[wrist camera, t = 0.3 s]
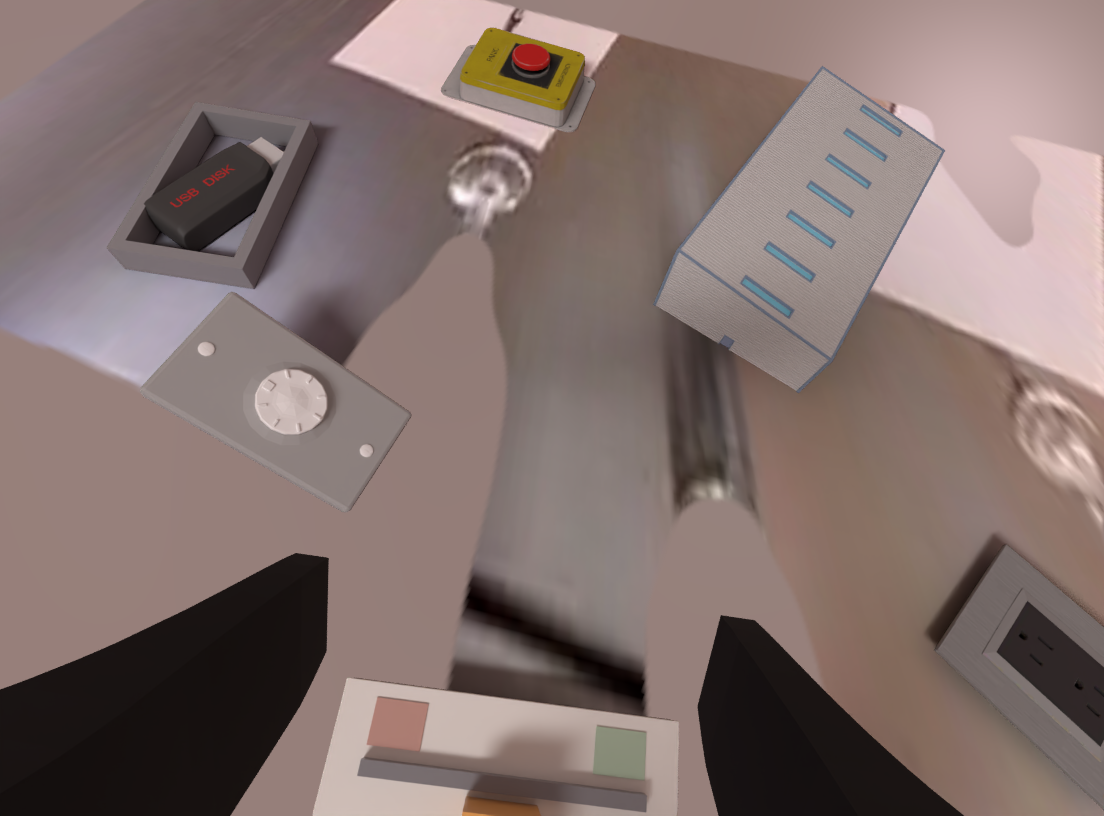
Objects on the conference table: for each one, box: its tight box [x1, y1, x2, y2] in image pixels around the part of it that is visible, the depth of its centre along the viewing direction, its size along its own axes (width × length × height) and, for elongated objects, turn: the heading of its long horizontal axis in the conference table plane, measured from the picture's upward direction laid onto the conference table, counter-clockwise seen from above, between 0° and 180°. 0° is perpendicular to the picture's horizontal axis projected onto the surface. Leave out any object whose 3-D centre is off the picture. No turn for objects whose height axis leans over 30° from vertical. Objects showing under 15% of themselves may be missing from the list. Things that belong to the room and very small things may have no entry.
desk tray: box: [107, 102, 318, 289], centre depth 49 cm, size 18×10×2 cm, turn 173°
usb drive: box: [144, 137, 284, 251], centre depth 49 cm, size 5×12×3 cm, turn 144°
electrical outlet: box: [934, 544, 1104, 810], centre depth 39 cm, size 13×10×2 cm
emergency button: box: [441, 28, 595, 132], centre depth 59 cm, size 9×4×15 cm
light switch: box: [140, 292, 411, 512], centre depth 40 cm, size 8×6×14 cm
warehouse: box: [653, 66, 945, 393], centre depth 51 cm, size 30×14×8 cm, turn 145°
